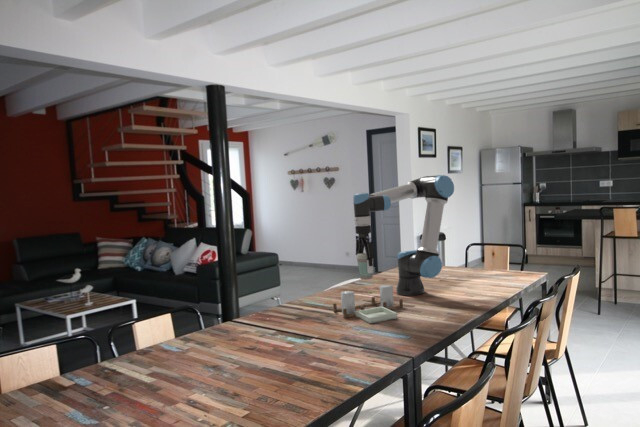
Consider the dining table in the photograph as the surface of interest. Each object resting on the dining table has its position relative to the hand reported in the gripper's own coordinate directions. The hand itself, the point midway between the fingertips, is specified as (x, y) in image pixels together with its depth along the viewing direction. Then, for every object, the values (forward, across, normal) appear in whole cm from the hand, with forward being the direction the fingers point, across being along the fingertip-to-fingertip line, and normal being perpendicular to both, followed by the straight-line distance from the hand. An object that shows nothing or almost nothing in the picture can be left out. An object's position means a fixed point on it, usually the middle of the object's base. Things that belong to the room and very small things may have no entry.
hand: (366, 271), depth 233 cm
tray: (+19, +14, -3) cm, 24 cm away
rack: (+19, 0, 0) cm, 19 cm away
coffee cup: (+4, 0, 0) cm, 4 cm away
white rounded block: (+19, 0, +10) cm, 22 cm away
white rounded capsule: (+19, 0, -11) cm, 22 cm away
